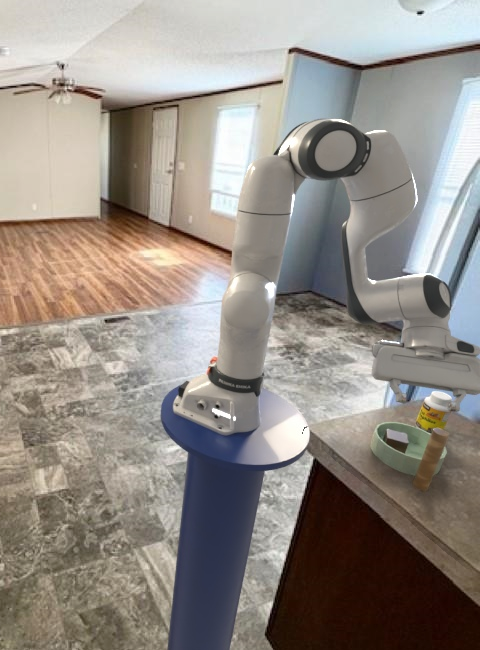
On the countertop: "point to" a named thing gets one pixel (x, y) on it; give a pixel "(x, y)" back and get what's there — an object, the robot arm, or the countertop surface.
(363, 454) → the countertop surface
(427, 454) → the wooden cylinder
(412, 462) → the bowl
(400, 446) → the block
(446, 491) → the countertop surface
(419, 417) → the supplement bottle
